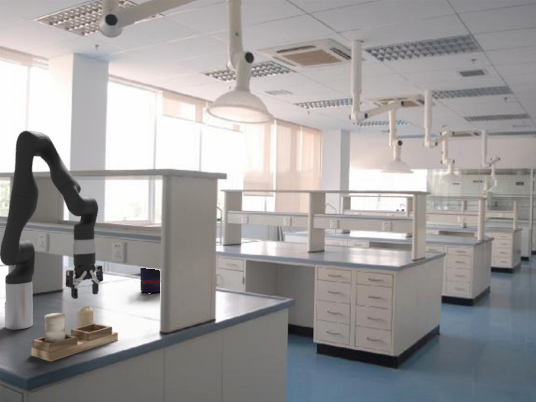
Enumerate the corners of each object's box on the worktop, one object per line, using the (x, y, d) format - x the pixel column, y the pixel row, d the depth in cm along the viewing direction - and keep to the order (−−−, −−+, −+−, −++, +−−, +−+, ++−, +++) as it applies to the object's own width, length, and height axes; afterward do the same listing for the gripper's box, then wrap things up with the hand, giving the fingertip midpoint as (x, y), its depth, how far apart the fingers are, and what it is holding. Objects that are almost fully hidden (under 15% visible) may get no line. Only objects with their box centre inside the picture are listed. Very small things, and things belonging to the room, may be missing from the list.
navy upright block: (168, 292, 253) (168, 233, 253) (147, 295, 245) (147, 235, 245) (155, 288, 264) (154, 232, 263) (134, 291, 256) (134, 233, 255)
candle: (86, 337, 176) (85, 309, 175) (73, 335, 178) (73, 308, 177) (96, 333, 181) (96, 306, 181) (84, 331, 183) (84, 304, 183)
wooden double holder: (31, 355, 156) (30, 316, 156) (99, 335, 178) (98, 300, 178) (50, 361, 151) (50, 320, 151) (117, 339, 173) (117, 304, 173)
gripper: (94, 249, 187) (94, 291, 187) (60, 253, 175) (61, 298, 175) (107, 250, 183) (108, 293, 183) (73, 254, 170) (74, 301, 171)
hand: (85, 296), depth 179 cm, fingers open, 8 cm apart
